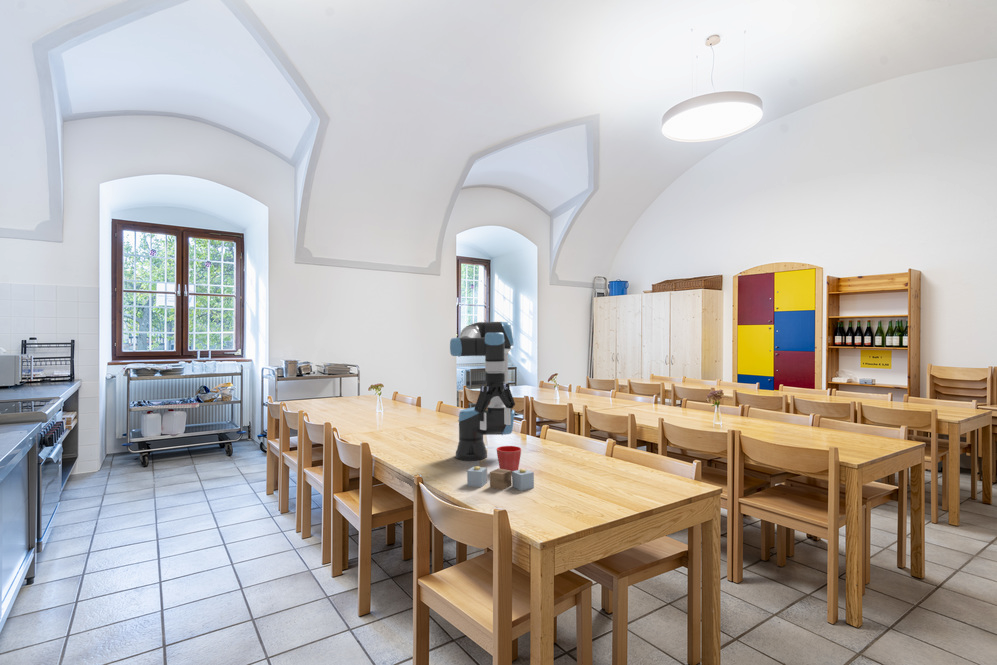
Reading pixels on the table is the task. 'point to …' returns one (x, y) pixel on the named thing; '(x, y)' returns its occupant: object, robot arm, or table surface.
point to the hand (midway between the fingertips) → (495, 427)
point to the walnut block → (500, 479)
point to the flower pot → (509, 457)
